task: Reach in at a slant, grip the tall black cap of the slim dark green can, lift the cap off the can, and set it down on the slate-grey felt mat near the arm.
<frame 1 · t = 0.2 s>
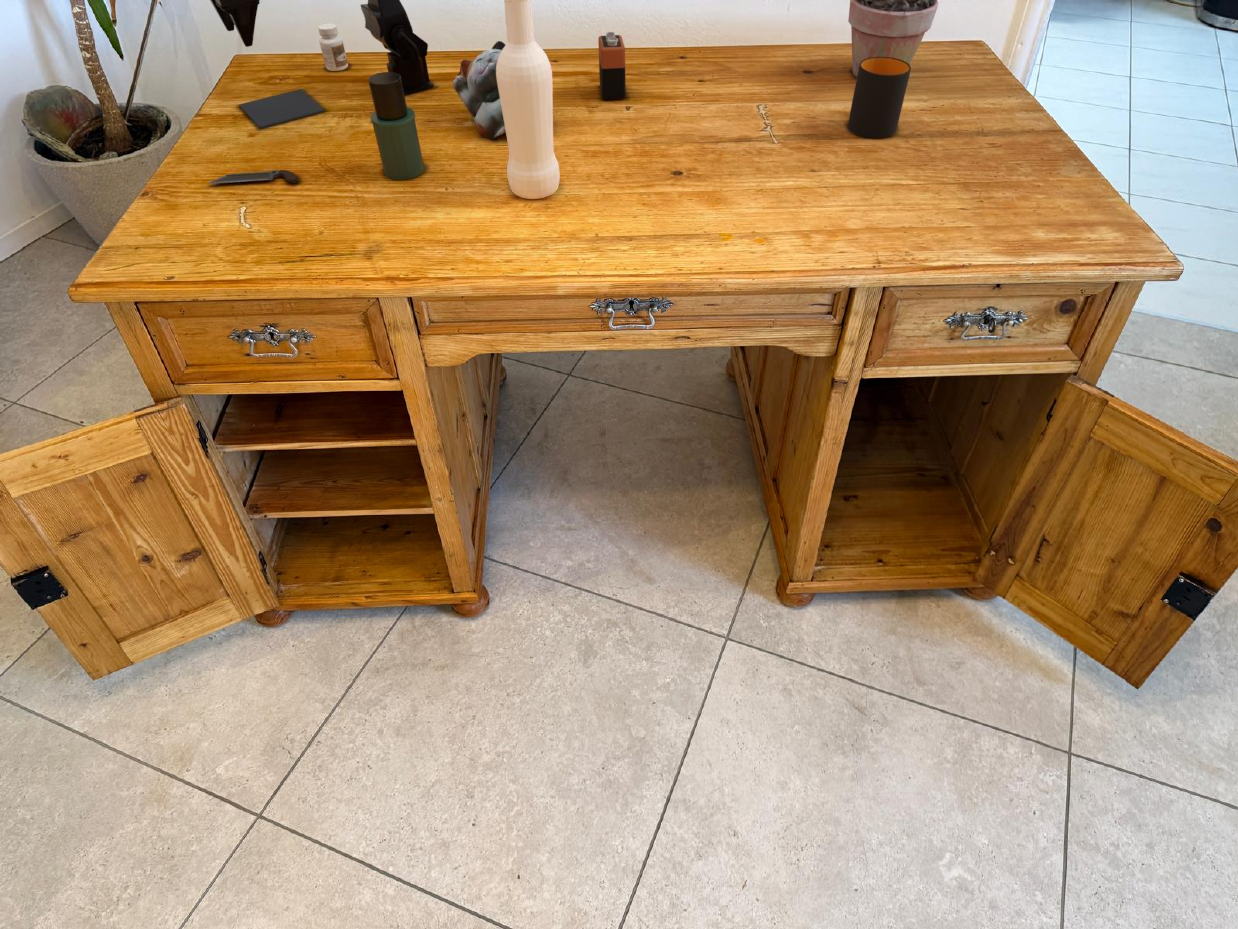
hand: (239, 38, 134), 15 cm above the table, tool pointing down, fingers open, 9 cm apart
battery: (612, 93, 152), on the table
mat: (281, 109, 149), on the table
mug: (867, 124, 141), on the table
potted plant: (873, 74, 157), on the table
pill bottle: (337, 68, 163), on the table
knife: (255, 181, 130), on the table
can: (404, 170, 132), on the table
bottle: (534, 189, 127), on the table
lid: (393, 118, 125), point 8 cm above the table, touching can
lucky cat figurine: (506, 125, 143), on the table
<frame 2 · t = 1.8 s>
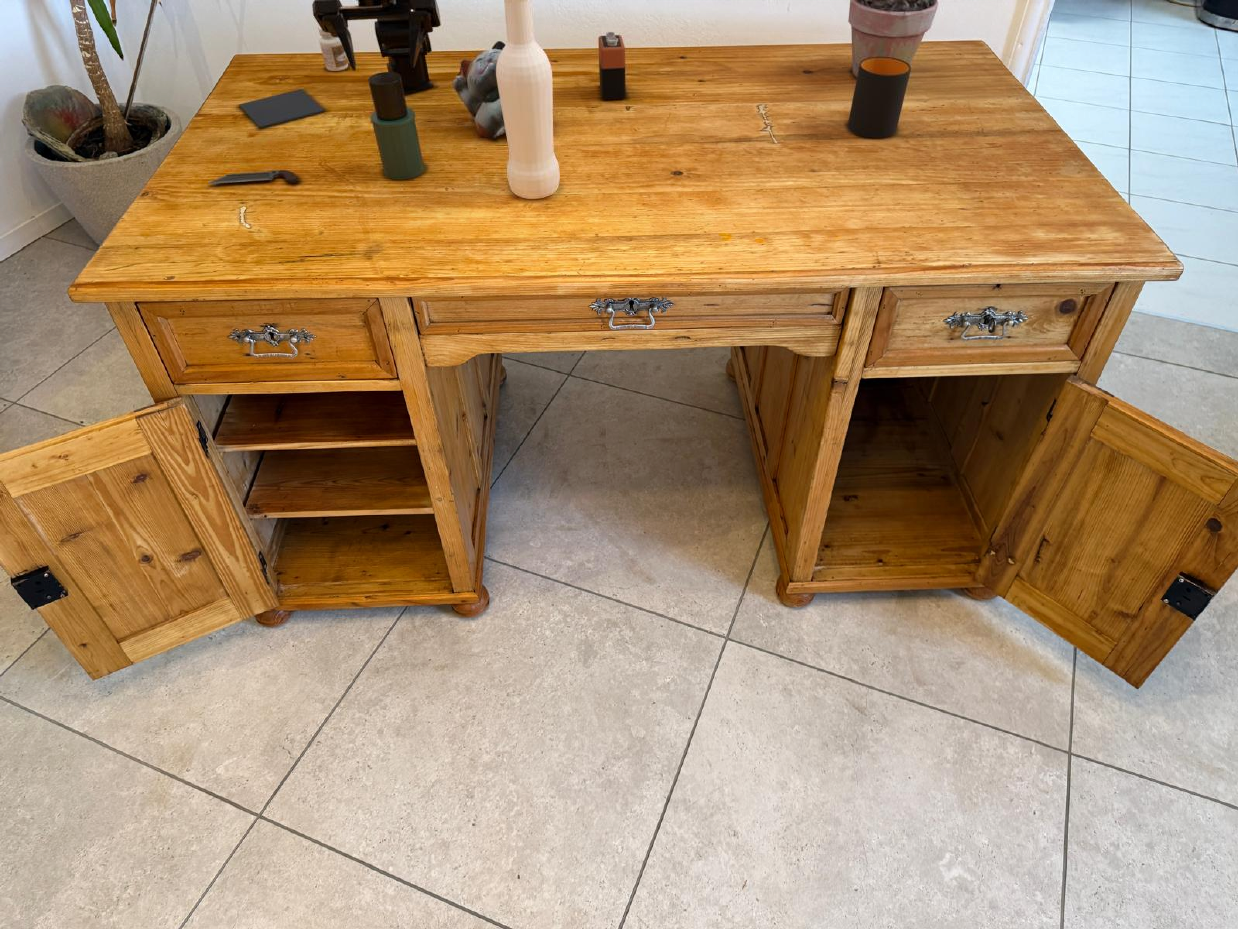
hand: (383, 67, 127), 13 cm above the table, tool tilted 45°, fingers open, 9 cm apart
nothing on the table moved.
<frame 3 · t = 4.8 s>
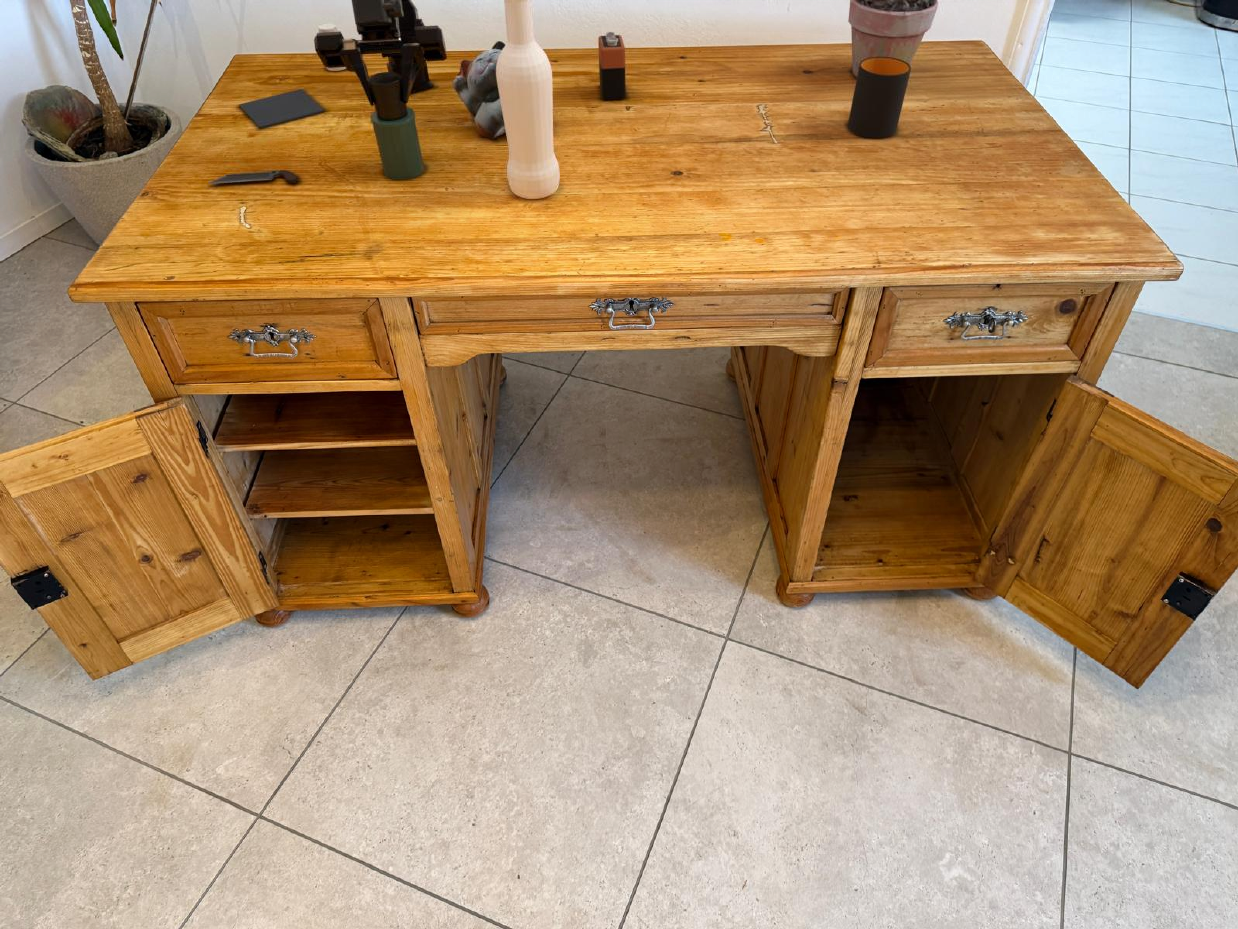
hand: (388, 103, 122), 11 cm above the table, tool tilted 45°, fingers closed on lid, 5 cm apart
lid: (393, 118, 125), point 9 cm above the table, touching can, gripper
everything else where it was.
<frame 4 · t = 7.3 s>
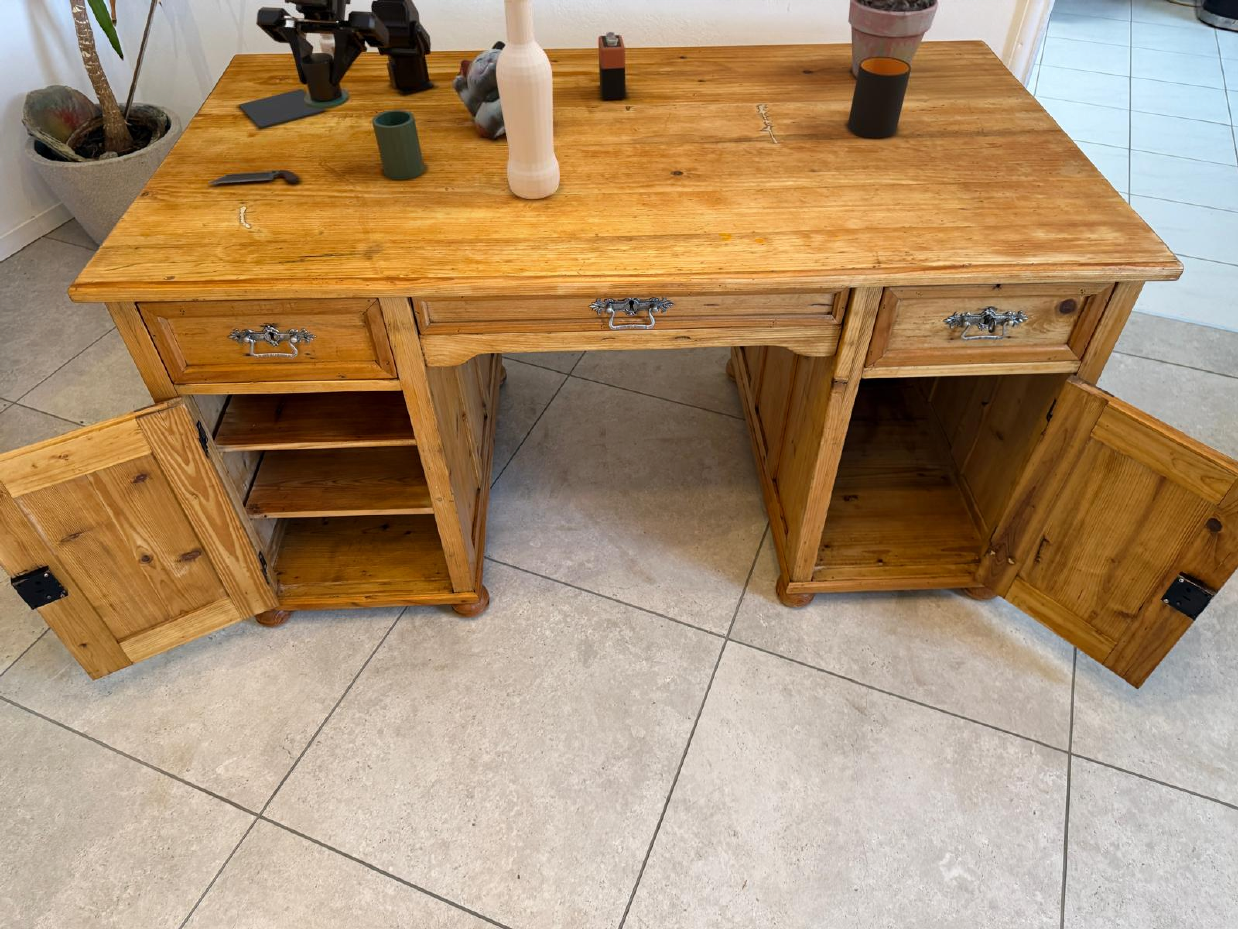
hand: (318, 84, 123), 13 cm above the table, tool tilted 45°, fingers closed on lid, 5 cm apart
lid: (327, 99, 126), point 11 cm above the table, touching gripper
everything else where it was.
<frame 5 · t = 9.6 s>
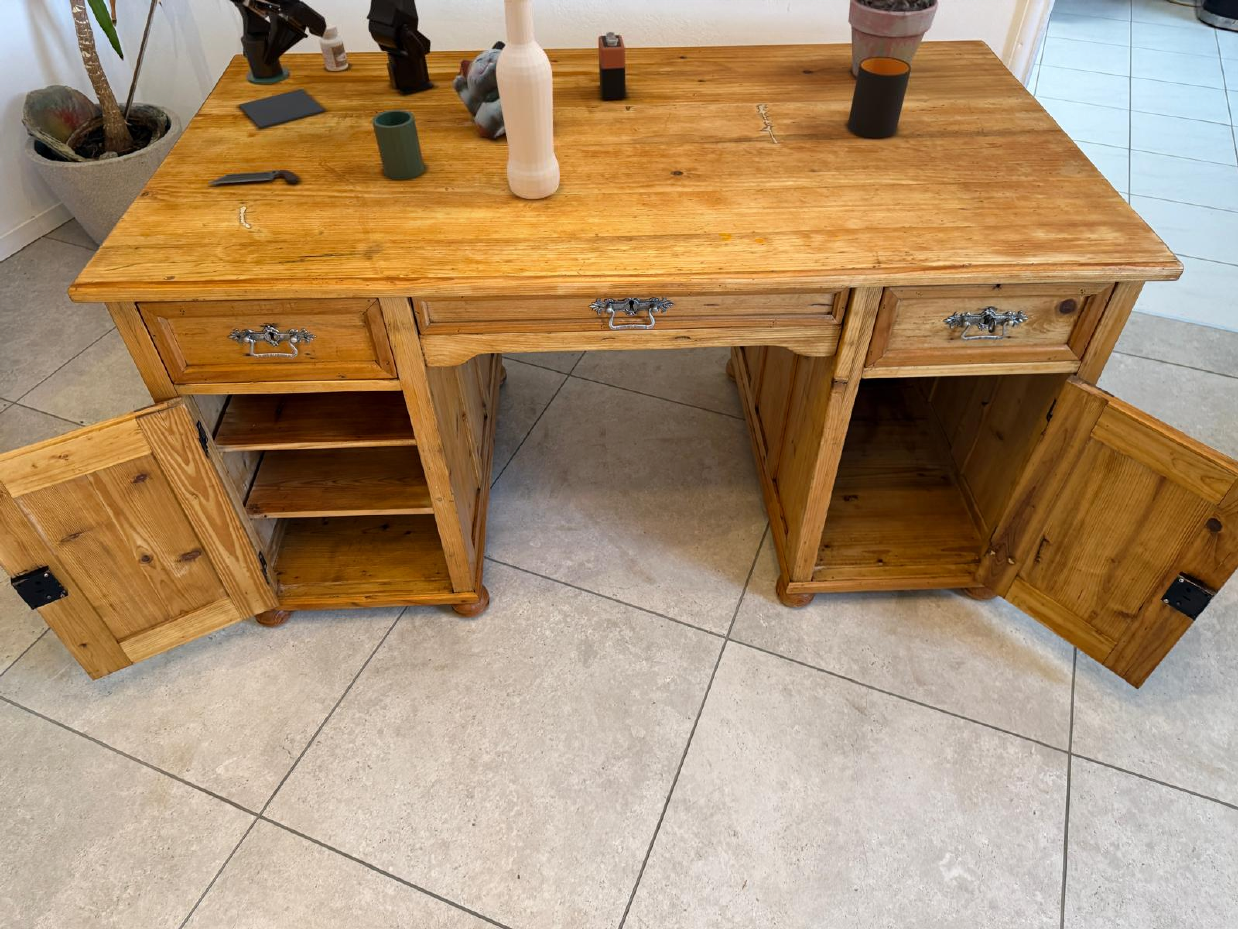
hand: (255, 60, 129), 14 cm above the table, tool tilted 45°, fingers closed on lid, 5 cm apart
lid: (269, 76, 132), point 11 cm above the table, touching gripper
everything else where it was.
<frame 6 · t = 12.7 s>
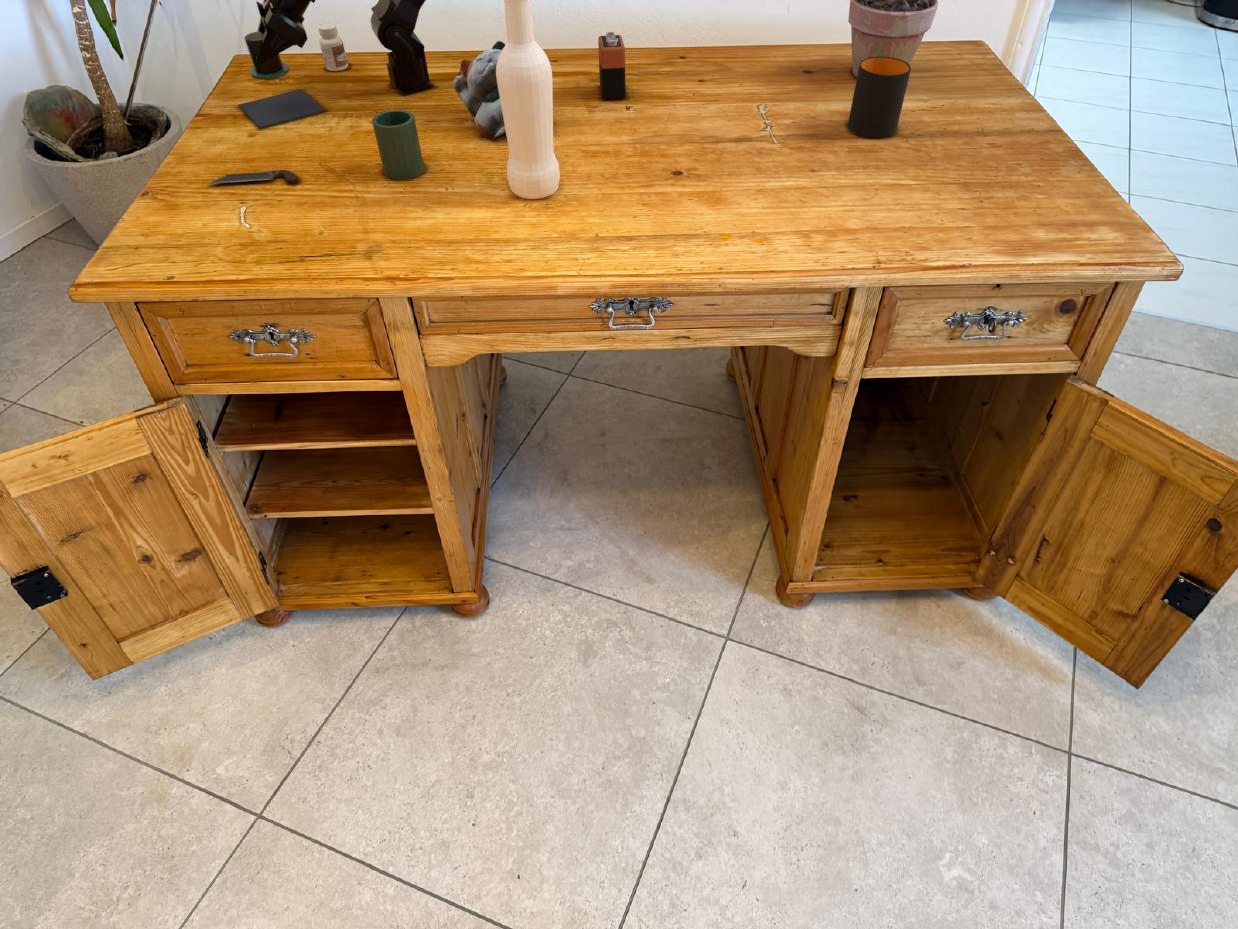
hand: (257, 56, 142), 9 cm above the table, tool tilted 45°, fingers closed on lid, 5 cm apart
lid: (270, 72, 144), point 7 cm above the table, touching gripper
everything else where it was.
when the fingers open (4 cm above the table, at t = 14.8 s): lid stays where it is, resting on mat.
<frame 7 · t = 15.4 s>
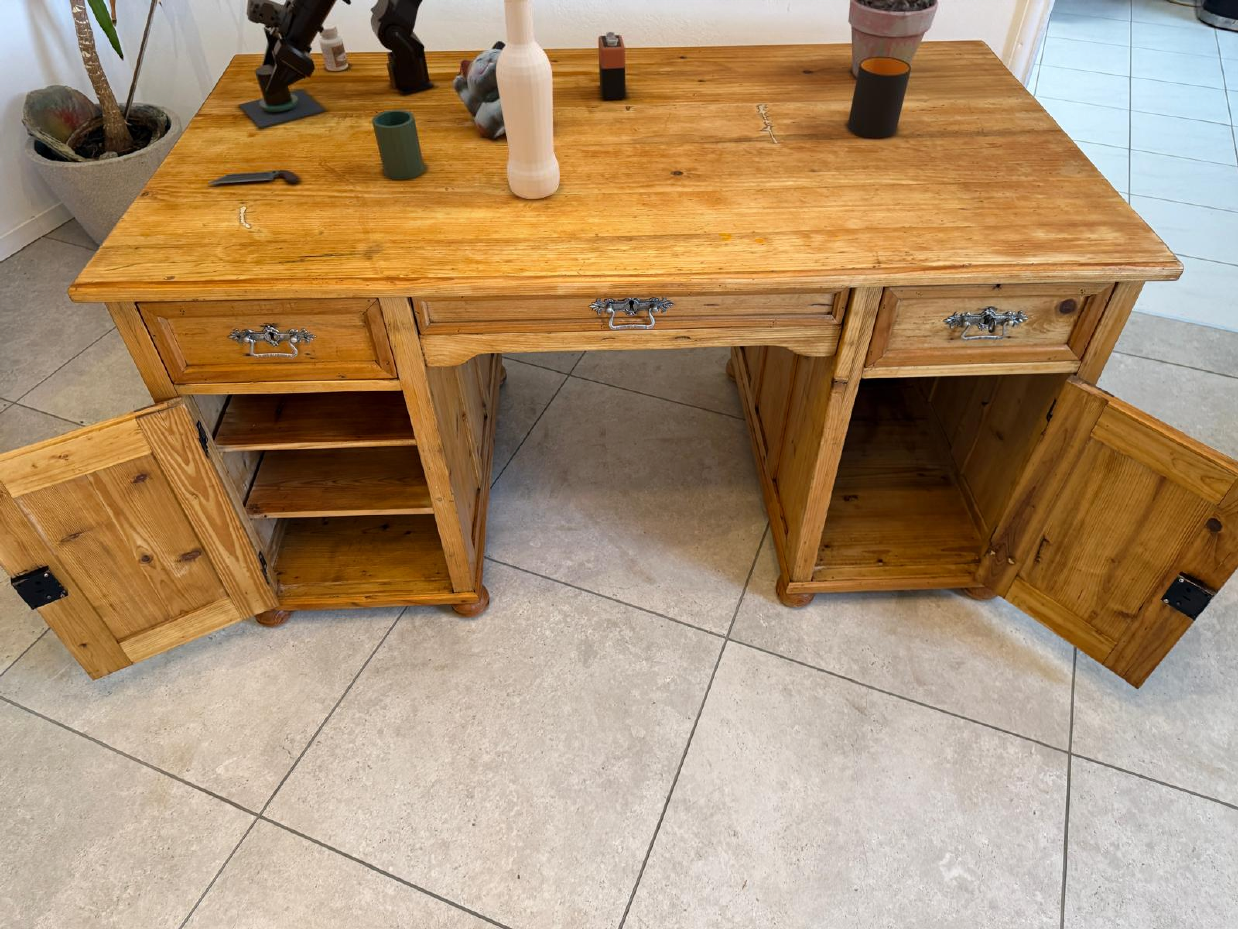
hand: (265, 84, 145), 5 cm above the table, tool tilted 45°, fingers open, 9 cm apart
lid: (279, 103, 148), point 1 cm above the table, touching mat
everything else where it was.
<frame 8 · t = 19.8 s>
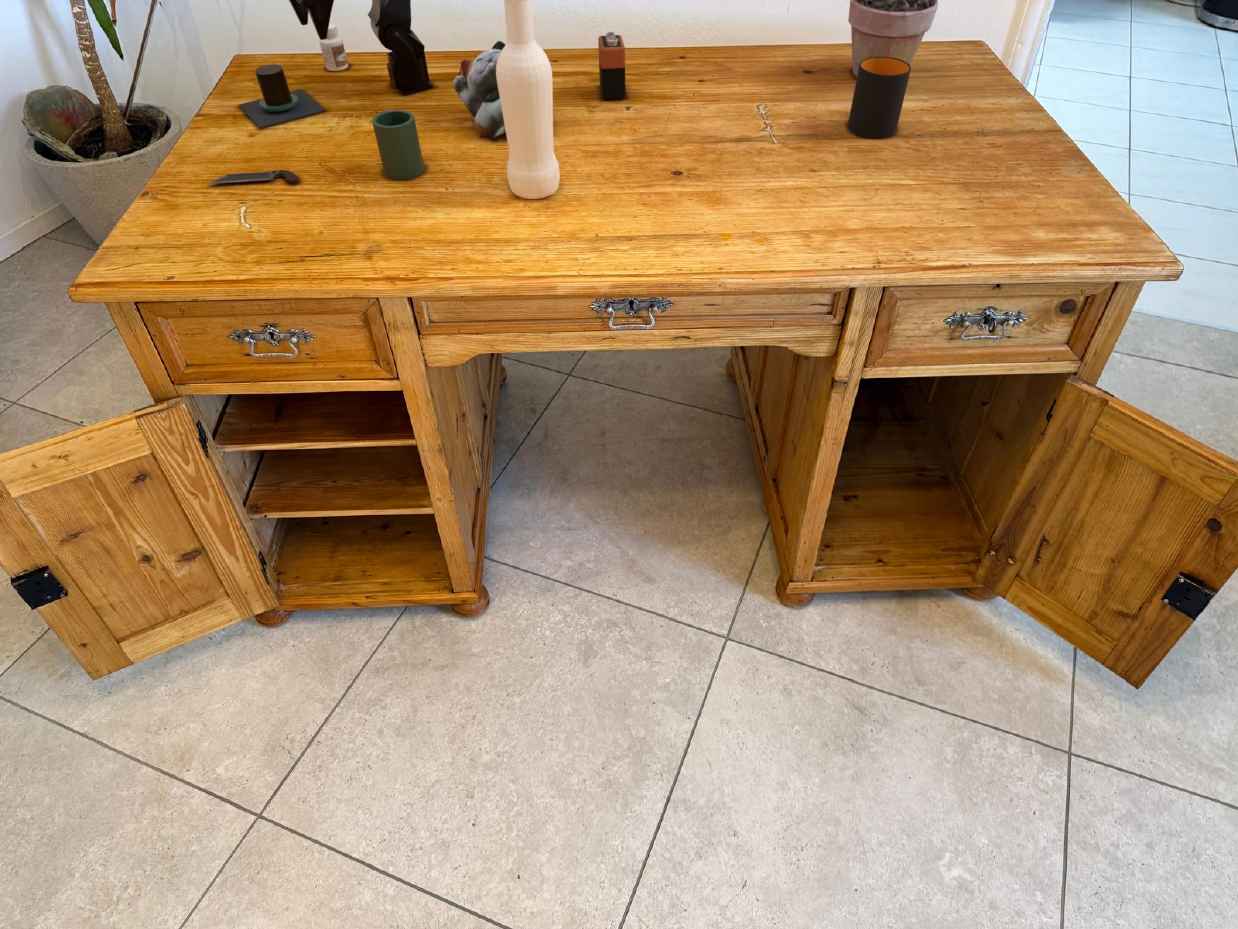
hand: (313, 31, 143), 12 cm above the table, tool pointing down, fingers open, 9 cm apart
nothing on the table moved.
at the end: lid inside the target area on the mat (0.1 cm from its centre), point 1.0 cm above the mat's base; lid tilted 0°; the gripper is holding nothing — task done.
